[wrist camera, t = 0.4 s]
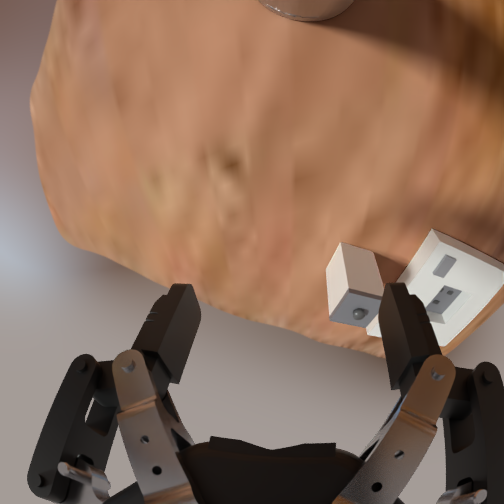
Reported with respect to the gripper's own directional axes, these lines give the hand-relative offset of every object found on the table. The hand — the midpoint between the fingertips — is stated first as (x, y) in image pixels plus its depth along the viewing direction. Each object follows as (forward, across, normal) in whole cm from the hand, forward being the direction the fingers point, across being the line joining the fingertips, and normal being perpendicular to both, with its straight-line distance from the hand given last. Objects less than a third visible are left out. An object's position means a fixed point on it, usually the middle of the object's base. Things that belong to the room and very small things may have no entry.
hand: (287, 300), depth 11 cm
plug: (+19, -6, +12) cm, 23 cm away
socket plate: (+19, -22, +19) cm, 35 cm away
